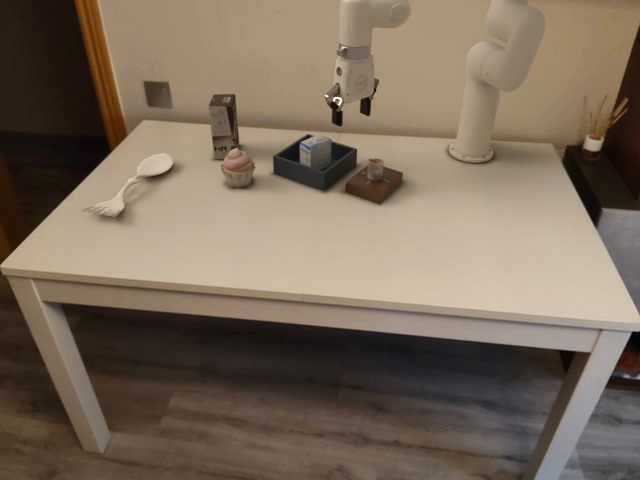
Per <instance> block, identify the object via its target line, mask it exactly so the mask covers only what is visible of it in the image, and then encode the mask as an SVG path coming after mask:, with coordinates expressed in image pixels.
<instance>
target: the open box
mask: <svg viewBox="0 0 640 480" xmlns="http://www.w3.org/2000/svg"><path fill="white" fill-rule="evenodd" d="M314 136H315V135H313V134H310V133H307V134H305V135H304V136H302V137H301V138H299V139H297V140H295V141H294V142H293V143H291V144H290V145H288V146H286V147H285V148H283V149H282V150H280V151H279V152H277V153H276V154H274V155H273V156H272V169H273V174H274V175H277V176H279V177H282V178H284V179H287V180H290V181H293V182H296V183H299V184H302V185H304V186H307V187H310V188H313V189H316V190H319V191H320V192H326V191H327V190H329V188H331V187H332V186H334V185H335V184H336V183H337V182H338V181H339V180H341V179H342V178H343V177H345V176H346V175H347V174H349V173H350V172H351V171H352V170H354V169H355V168H356V167H357V164H358V163H357V161H358V148H357V147H356V148H355V147H352V146H350V145H346V144H343V143H339V142H336V141H332V140H331V166H329V167H327V168H325V169H323V170H318V169H315V168H312V167H309V166H306V165H303V164H300V142H302V141H304V140H307V139H309V138H311V137H314Z"/></svg>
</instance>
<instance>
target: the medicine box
mask: <svg viewBox="0 0 640 480" xmlns="http://www.w3.org/2000/svg"><path fill="white" fill-rule="evenodd" d="M313 136H314V137H311V138H309V139H307V140H304V141H302V142H300V164H303V165H306V166H309V167H312V168H315V169H318V170H323V169H325V168H327V167H329V166H331V141H332V138H330V137H329V136H327V135H325V134H323V133H319V134H316V135H313Z"/></svg>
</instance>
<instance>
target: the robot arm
mask: <svg viewBox="0 0 640 480" xmlns="http://www.w3.org/2000/svg"><path fill="white" fill-rule="evenodd" d="M339 1H340V2H339V28H338V29H339V31H338V49H337V50H336V55H337V57H336V60H335V66H334V72H333V81H332V87H331V88H329V90H328V91H327V92H326V93H325V94H324V96H323V97H324V100H325V102H326V105H327V106H328V107H329V108H330V109H331V124H333V125H335V126H337V127H339V128H341V127H342V126H343V118H344V117H343V115H344V111H343V110H342V109H343V107H344V105H345V104H351V103H354V102H358V101H360V102H359V113H360V114H361V115H364V116H366V117H370V116H371V111H372V101H374V98H375V97H374V95H375V94H376V92H377V88H378V86H379V83H380V79H378V78H377V77H375V60H374V55H373V54H372V39H373V29H374V28H380V29H396V28H399V27H401V26H403V25H404V24H405V23H407V21H408V20H409V18H410V16H411V11H412V10H411V4H410V2H409V0H339ZM529 1H530V0H491V2H490V5H489V8H488V11H487V14H486V17H485V21H484V29H485V31H486V33H487V34H488V35H490V36H491V37H493V38H495V39H497V40H499V41H502V42H504V43H506V45H505V46H503V45H500V44H499V43H496V42H494V41H487V40H485V41H480V42H477V43H475V44H474V45H473V46H472V47H471V48H470V49H469V51H468V52H467V55H466V59H465V63H464V64H465V65H464V67H465V72H464V73H465V83H464V92H463V98H462V104H461V109H460V116H459V120H458V127H457V132H456V139H455V141H454V142H452V143H451V144H450V145H449V147H448V152H449V154H450V155H451V156H452V157H453V158H455V159H456V160H459V161H462V162H466V163H471V164H474V163H476V164H479V163H485V162H488V161H490V160H492V158H493V156H494V150H493V148H492V147H491V146H490V144H491V141H492V140H491V139H492V135H493V130H494V126H495V121H496V115H497V111H498V106H499V103H500V96H501V92H506V93H510V92H514V91H516V90H518V88H520V87H521V86H522V85H523V83H524V82H525V81H526V79H527V78H528V75H529V73H530V70H531V68H532V65H533V63H534V60H535V58H536V56H537V53H538V50H539V48H540V46H541V43H542V40H543V37H544V36H545V35H544V34H545V31H546V19H545V15H544V14H543V12H542V10H540V9H538V7H535V6H533V5H530V4H529Z"/></svg>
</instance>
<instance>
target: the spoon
mask: <svg viewBox="0 0 640 480" xmlns="http://www.w3.org/2000/svg"><path fill="white" fill-rule="evenodd" d="M173 165H174V157H173V156H171V155H170V154H167V153H155V154H152V155H150V156H148V157H146V158H145V159H143V160H142V161H141V162H140V163H139V164H138V165H137V168H136V173H137V174H136V175H135V176H133V177H130V178H128V179H127V180H126V183H125V184H124V185H123V186H122V188H121V189H120V190H119V192H118V193H117V195H115V196H114V197H113V198H111V199H109V200H104V201H102V202H99V203H96V204H92V205H89V206H85V207H83V208H82V212H83V213H85V212H88V213H90V214H91V213H92V214H93V215H96V214H98V215H100V216H103V215H104V216H105V217H107V216H108V217H112V218H116V217H117V216H119V214H121V212H122V211H123V210H124V209H125V207H126V205H125V201H124V199H125V195H126V193H127V191H128V190H129V188H130V187H132V186H134V185H135V184H138V183H139V179H142V178H147V177H155V176H160V175H161V174H164V173H166V172H168V170H170V169H171V168H172V166H173Z"/></svg>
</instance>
